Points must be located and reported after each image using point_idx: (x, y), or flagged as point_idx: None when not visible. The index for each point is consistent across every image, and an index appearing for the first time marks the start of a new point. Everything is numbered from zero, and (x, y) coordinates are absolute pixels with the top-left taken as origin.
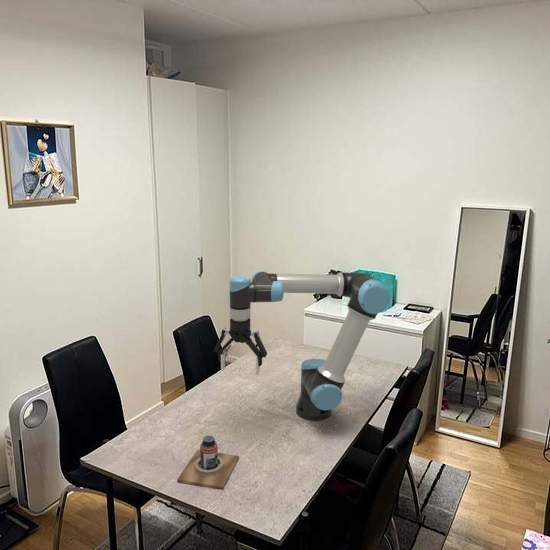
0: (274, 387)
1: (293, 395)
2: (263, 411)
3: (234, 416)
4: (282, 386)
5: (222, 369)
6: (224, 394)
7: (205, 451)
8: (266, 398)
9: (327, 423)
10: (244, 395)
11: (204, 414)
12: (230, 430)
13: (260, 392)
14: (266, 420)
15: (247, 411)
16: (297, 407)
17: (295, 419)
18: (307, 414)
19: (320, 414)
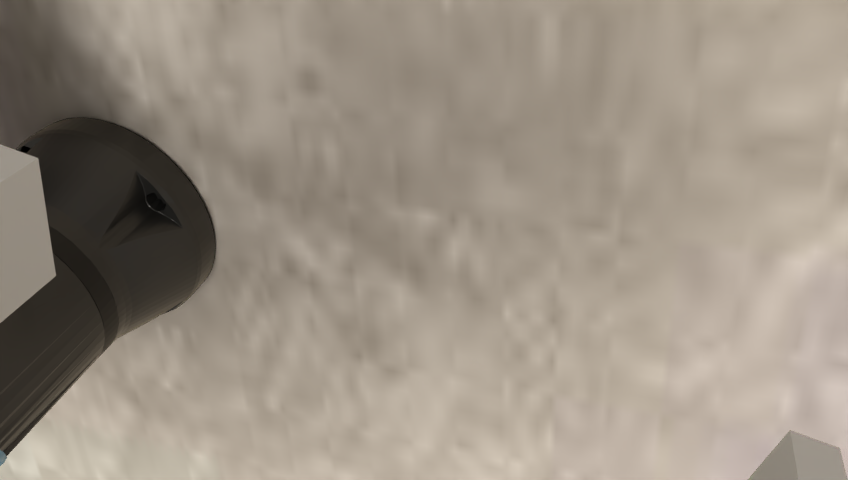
0: (359, 461)
1: (253, 377)
2: (403, 254)
3: (601, 223)
4: (319, 460)
5: (806, 467)
6: (652, 463)
7: None
8: (394, 378)
9: (22, 83)
10: (525, 429)
11: (837, 276)
12: (646, 37)
13: (431, 437)
14: (377, 151)
15: (507, 268)
16: (180, 227)
17: (203, 144)
18: (113, 149)
19: (39, 137)
